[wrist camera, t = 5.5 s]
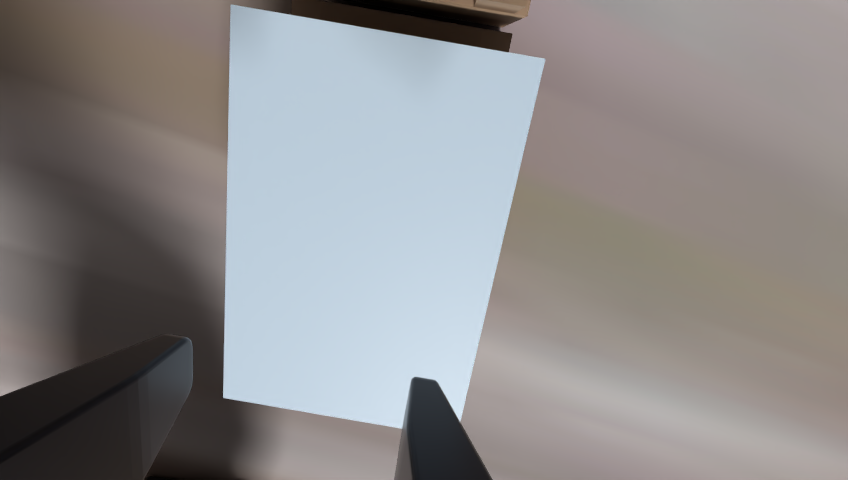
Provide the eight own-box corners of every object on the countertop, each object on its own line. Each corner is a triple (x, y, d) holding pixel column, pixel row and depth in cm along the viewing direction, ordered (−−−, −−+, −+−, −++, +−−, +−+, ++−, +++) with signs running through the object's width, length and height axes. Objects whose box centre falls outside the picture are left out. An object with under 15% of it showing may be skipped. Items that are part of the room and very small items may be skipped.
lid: (456, 386, 18) (456, 437, 15) (253, 351, 18) (223, 397, 15) (530, 56, 14) (545, 58, 11) (269, 11, 14) (231, 4, 11)
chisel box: (440, 335, 22) (431, 501, 14) (302, 311, 22) (212, 464, 14) (529, -110, 16) (605, -271, 8) (339, -143, 16) (221, -339, 8)
